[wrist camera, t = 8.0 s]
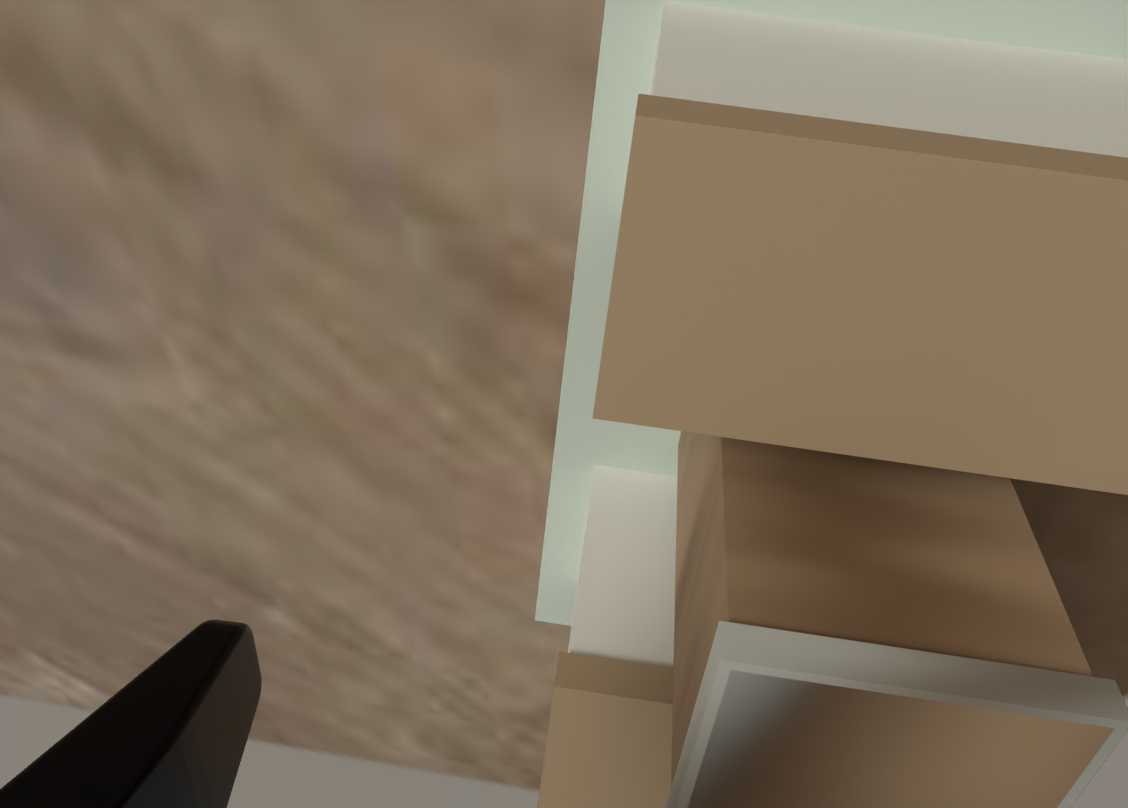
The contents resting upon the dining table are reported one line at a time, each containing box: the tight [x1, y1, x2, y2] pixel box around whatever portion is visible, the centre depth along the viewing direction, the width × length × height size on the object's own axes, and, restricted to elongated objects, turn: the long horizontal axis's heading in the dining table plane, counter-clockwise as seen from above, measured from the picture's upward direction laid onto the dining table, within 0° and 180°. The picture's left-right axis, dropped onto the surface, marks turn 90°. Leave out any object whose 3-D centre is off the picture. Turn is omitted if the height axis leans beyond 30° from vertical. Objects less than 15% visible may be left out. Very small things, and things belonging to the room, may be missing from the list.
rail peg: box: [666, 431, 1128, 808], centre depth 16 cm, size 5×5×10 cm
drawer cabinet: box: [535, 0, 1128, 808], centre depth 18 cm, size 10×18×8 cm, turn 174°
